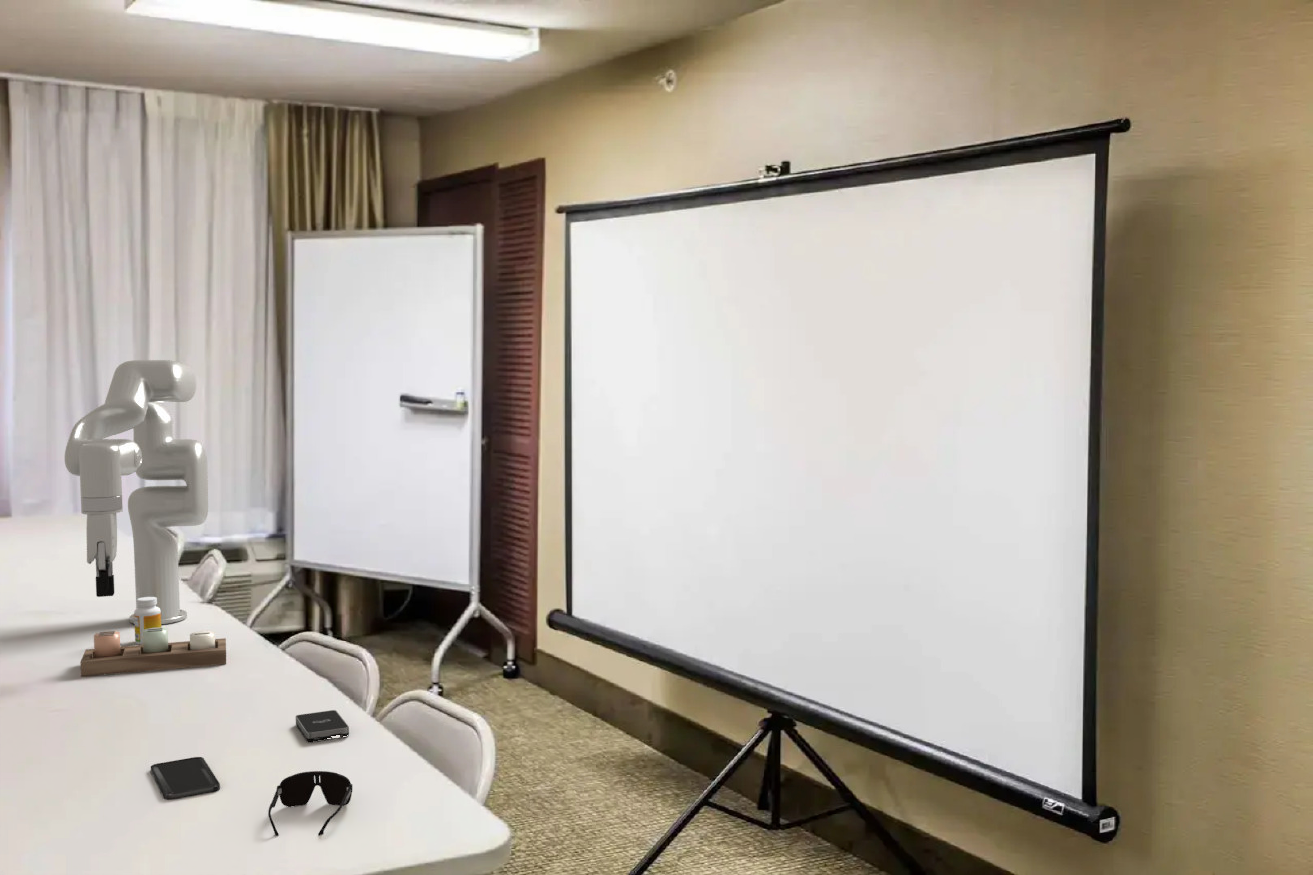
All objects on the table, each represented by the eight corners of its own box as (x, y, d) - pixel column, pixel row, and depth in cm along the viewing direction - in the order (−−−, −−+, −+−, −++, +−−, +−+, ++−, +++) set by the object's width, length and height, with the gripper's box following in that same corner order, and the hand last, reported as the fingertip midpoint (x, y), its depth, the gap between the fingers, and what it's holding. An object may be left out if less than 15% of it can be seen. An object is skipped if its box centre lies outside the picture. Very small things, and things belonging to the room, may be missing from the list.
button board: (86, 663, 251) (85, 649, 251) (226, 652, 260) (225, 638, 260) (81, 676, 242) (80, 661, 242) (226, 664, 251) (225, 649, 251)
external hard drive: (307, 745, 202) (307, 733, 202) (295, 726, 212) (294, 715, 212) (349, 739, 205) (349, 727, 205) (335, 720, 215) (335, 709, 215)
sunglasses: (356, 802, 177) (354, 770, 176) (338, 846, 166) (336, 813, 165) (282, 803, 177) (279, 771, 176) (259, 848, 165) (256, 814, 164)
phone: (165, 796, 177) (149, 764, 190) (165, 803, 178) (149, 771, 190) (221, 785, 181) (202, 755, 194) (222, 792, 182) (203, 762, 194)
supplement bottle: (166, 639, 272) (164, 596, 271) (154, 645, 266) (152, 601, 265) (143, 638, 272) (141, 595, 271) (130, 645, 267) (128, 600, 266)
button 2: (143, 647, 252) (142, 628, 252) (168, 645, 254) (168, 626, 254) (142, 653, 248) (141, 633, 248) (167, 651, 249) (167, 631, 249)
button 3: (95, 651, 249) (94, 631, 249) (121, 649, 251) (120, 629, 251) (93, 657, 245) (92, 637, 245) (119, 655, 247) (118, 635, 246)
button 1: (190, 651, 256) (190, 631, 255) (215, 649, 257) (214, 629, 257) (190, 656, 251) (189, 637, 251) (215, 654, 253) (214, 635, 252)
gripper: (85, 501, 251) (88, 589, 253) (77, 510, 237) (81, 604, 239) (125, 499, 254) (128, 587, 255) (119, 508, 240) (123, 601, 241)
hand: (105, 595), depth 247 cm, fingers closed
